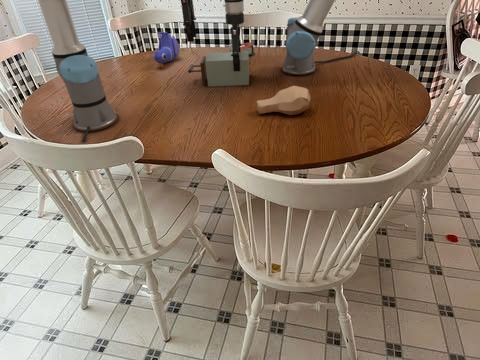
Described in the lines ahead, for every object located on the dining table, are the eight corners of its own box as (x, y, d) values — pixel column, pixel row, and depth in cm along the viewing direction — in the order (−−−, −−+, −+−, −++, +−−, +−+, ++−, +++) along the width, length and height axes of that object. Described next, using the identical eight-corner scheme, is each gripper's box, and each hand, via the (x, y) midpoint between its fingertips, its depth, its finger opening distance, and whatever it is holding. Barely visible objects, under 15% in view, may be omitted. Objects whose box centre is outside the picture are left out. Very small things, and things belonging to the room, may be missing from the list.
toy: (167, 63, 198) (147, 69, 175) (163, 31, 191) (141, 33, 169) (184, 63, 195) (166, 69, 173) (180, 30, 189) (161, 32, 166)
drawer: (189, 84, 157) (186, 63, 152) (192, 76, 165) (189, 56, 160) (240, 82, 156) (239, 61, 150) (241, 74, 164) (240, 54, 158)
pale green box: (208, 86, 157) (205, 61, 150) (210, 77, 166) (208, 53, 159) (248, 85, 156) (247, 59, 149) (249, 75, 165) (248, 51, 158)
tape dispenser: (245, 68, 177) (264, 54, 190) (245, 58, 174) (264, 44, 186) (216, 62, 185) (237, 49, 197) (215, 52, 181) (236, 39, 194)
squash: (314, 116, 128) (313, 95, 122) (259, 125, 130) (256, 105, 124) (308, 99, 136) (307, 78, 129) (257, 108, 138) (253, 88, 131)
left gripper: (178, -26, 145) (186, 33, 158) (169, -20, 129) (179, 46, 143) (197, -27, 144) (203, 33, 158) (189, -21, 129) (197, 45, 143)
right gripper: (227, 7, 154) (230, 58, 166) (223, 19, 134) (227, 76, 147) (244, 6, 153) (246, 57, 166) (242, 18, 134) (245, 75, 147)
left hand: (191, 39), depth 151 cm, fingers open, 6 cm apart
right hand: (237, 66), depth 157 cm, fingers closed on pale green box, 11 cm apart
